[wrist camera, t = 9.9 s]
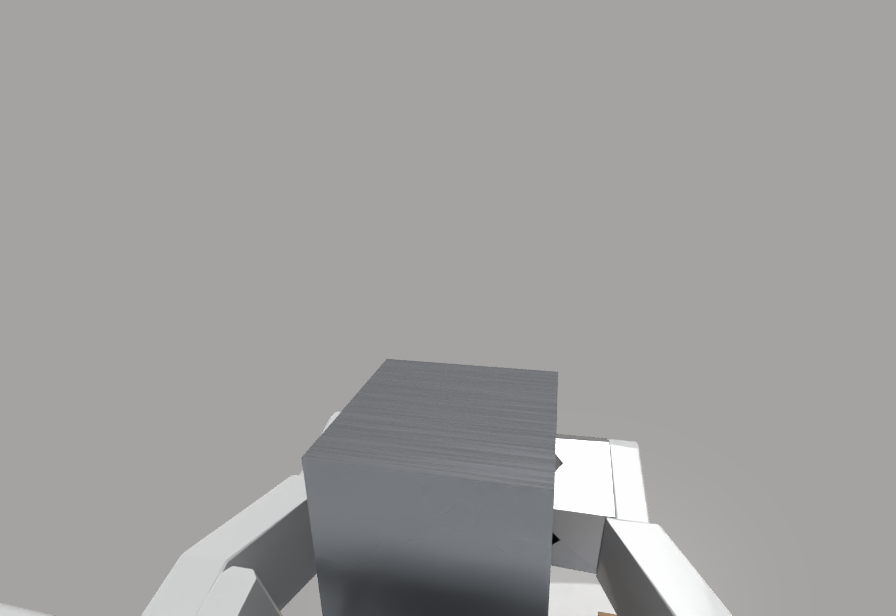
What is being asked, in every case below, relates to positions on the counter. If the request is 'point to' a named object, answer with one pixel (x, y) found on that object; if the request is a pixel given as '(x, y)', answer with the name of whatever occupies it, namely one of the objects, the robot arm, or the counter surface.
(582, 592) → the counter surface
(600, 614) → the walnut block
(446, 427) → the hook bar
